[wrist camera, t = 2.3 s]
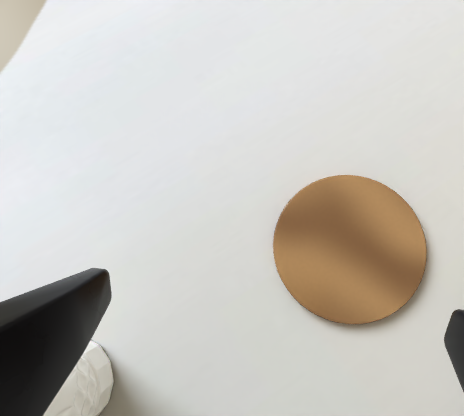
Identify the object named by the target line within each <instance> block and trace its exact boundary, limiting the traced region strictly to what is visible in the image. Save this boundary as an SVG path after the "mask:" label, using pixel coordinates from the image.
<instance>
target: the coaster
mask: <svg viewBox="0 0 464 416" xmlns="http://www.w3.org/2000/svg"><path fill="white" fill-rule="evenodd" d="M273 253H274V259H275V264H276V267H277V271H278V273H279V275H280V278H281V280H282V282H283V283H284V285H285V286H286V288H287V290H288V291H289V292H290V293H291V295H292V296H293V297H294V298H295V299H296V300H297V301H298V302H299V303H300V304H301V305H302V306H304V307H305V308H306V309H308V310H309V311H311V312H312V313H314V314H316V315H318V316H320V317H322V318H324V319H327V320H330V321H334V322H337V323H344V324H363V323H370V322H374V321H377V320H380V319H383V318H385V317H387V316H389V315H391V314H393V313H394V312H396V311H397V310H399V309H400V308H401V307H402V306H404V305H405V304H406V303H407V301H408V300H409V299H410V298H411V297H412V296H413V294H414V293H415V291H416V290H417V288H418V286H419V284H420V282H421V280H422V277H423V274H424V271H425V265H426V253H427V250H426V241H425V237H424V233H423V229H422V227H421V224H420V222H419V220H418V218H417V216H416V214H415V213H414V211H413V210H412V209H411V207H410V206H409V205H408V203H407V202H406V201H405V200H404V199H403V198H402V197H401V196H400V195H398V194H397V193H396V192H395V191H393V190H392V189H390V188H389V187H387V186H386V185H384V184H381V183H379V182H377V181H375V180H372V179H369V178H365V177H360V176H353V175H338V176H332V177H327V178H324V179H320V180H318V181H316V182H313V183H311V184H309V185H308V186H306V187H304V188H303V189H302V190H300V191H299V192H298V193H297V194H296V195H295V196H294V197H293V198H292V199H291V200H290V201H289V202H288V204H287V205H286V206H285V208H284V209H283V211H282V213H281V215H280V217H279V219H278V222H277V225H276V228H275V233H274V240H273Z"/></svg>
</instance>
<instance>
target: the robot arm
mask: <svg viewBox="0 0 464 416" xmlns="http://www.w3.org/2000/svg"><path fill="white" fill-rule="evenodd" d="M110 301H111V286H110V277H109V273H108V271H107V270H106V269H98V268H91V269H88V270H86V271H83V272H80V273H78V274H75V275H72V276H70V277H67V278H64V279H62V280H59V281H56V282H54V283H51V284H48V285H45V286H43V287H40V288H37V289H35V290H32V291H29V292H27V293H24V294H21V295H19V296H16V297H13V298H11V299H8V300H5V301H3V302H0V416H43V415H44V413H45V412H46V410H47V409H48V407H49V406H50V404H51V403H52V401H53V400H54V398H55V396H56V395H57V393H58V392H59V390H60V389H61V387H62V386H63V384H64V383H65V381H66V380H67V378H68V376H69V375H70V373H71V372H72V370H73V369H74V367H75V366H76V364H77V363H78V361H79V359H80V358H81V356H82V355H83V353H84V351H85V350H86V348H87V346H88V344H89V342H90V340H91V338H92V336H93V335H94V333H95V331H96V329H97V327H98V325H99V323H100V321H101V319H102V317H103V315H104V313H105V311H106V309H107V308H108V306H109V304H110ZM444 342H445V347H446V349H447V352H448V354H449V357H450V359H451V362H452V364H453V367H454V369H455V372H456V374H457V377H458V379H459V382H460V384H461V387H462V389H463V392H464V310H460V309H458V310H455V311H454V312H453V313H452V316H451V318H450V321H449V324H448V327H447V330H446V333H445V337H444Z"/></svg>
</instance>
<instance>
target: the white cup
mask: <svg viewBox="0 0 464 416" xmlns="http://www.w3.org/2000/svg"><path fill="white" fill-rule="evenodd" d="M113 383H114V379H113V373H112V368H111V362H110V360H109V358H108V357H107V355H106V354H105V352H104V351H103V349H102V348H101V346H100V345H99V344H97V343H95V342H94V341H92V340H90V342H89V344H88V346H87V348H86V350H85V351H84V353H83V355H82V356H81V358H80V359H79V361H78V363H77V364H76V366H75V367H74V369H73V370H72V372H71V373H70V375H69V376H68V378H67V380H66V381H65V383H64V384H63V386H62V387H61V389H60V390H59V392H58V393H57V395H56V396H55V398H54V400H53V401H52V403H51V404H50V406H49V407H48V409H47V410H46V412H45V413H44V415H43V416H99V414H100V413H101V412H102V410H103V409H104V408H105V406H106V405H107V404H108V402H109V399H110V395H111V391H112V387H113Z"/></svg>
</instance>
